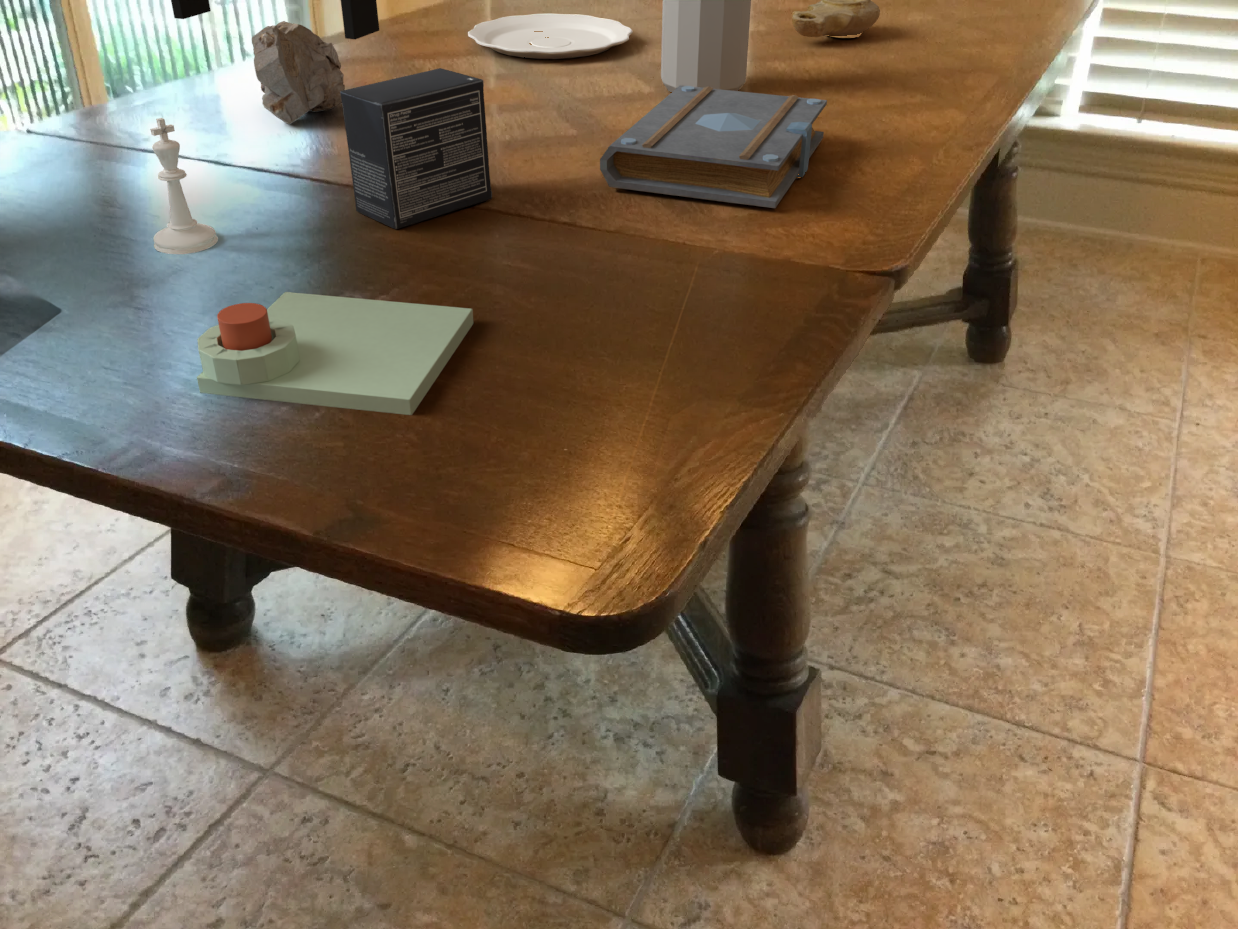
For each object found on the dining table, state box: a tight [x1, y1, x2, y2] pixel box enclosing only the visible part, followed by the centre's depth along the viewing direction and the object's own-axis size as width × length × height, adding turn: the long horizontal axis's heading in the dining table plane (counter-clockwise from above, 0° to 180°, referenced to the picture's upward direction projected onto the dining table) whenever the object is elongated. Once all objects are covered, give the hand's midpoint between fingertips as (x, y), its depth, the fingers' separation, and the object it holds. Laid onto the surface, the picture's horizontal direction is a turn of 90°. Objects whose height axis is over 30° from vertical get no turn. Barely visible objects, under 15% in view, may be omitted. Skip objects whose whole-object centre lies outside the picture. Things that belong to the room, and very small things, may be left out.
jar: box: [660, 0, 752, 93], centre depth 127 cm, size 10×10×18 cm
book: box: [599, 85, 828, 209], centre depth 109 cm, size 21×16×5 cm
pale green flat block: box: [196, 291, 474, 416], centre depth 76 cm, size 14×13×3 cm
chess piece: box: [150, 117, 219, 255], centre depth 91 cm, size 5×5×10 cm
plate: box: [467, 12, 633, 60], centre depth 149 cm, size 21×21×2 cm
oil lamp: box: [791, 0, 881, 38], centre depth 152 cm, size 11×14×5 cm
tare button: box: [216, 302, 272, 351], centre depth 72 cm, size 3×3×2 cm
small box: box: [340, 67, 493, 230], centre depth 98 cm, size 11×6×10 cm, turn 135°
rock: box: [251, 20, 346, 125], centre depth 120 cm, size 9×12×10 cm
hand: (275, 24), depth 76 cm, fingers open, 13 cm apart
